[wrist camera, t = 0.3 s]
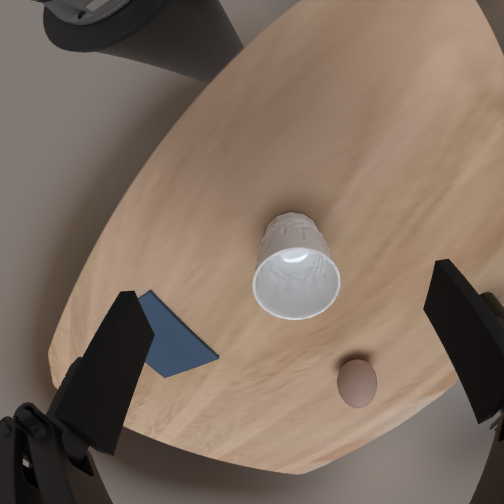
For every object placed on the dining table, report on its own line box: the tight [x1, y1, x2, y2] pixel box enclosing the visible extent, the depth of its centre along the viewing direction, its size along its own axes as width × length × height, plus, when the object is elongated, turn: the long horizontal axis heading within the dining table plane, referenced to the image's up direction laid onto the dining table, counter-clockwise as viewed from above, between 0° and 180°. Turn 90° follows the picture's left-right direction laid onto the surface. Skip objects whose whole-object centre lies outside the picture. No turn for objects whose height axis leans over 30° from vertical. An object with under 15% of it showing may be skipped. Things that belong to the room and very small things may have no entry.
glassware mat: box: [138, 290, 219, 378], centre depth 44 cm, size 16×14×1 cm
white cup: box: [252, 212, 340, 320], centre depth 29 cm, size 8×8×10 cm
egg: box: [337, 359, 377, 408], centre depth 40 cm, size 7×7×9 cm
